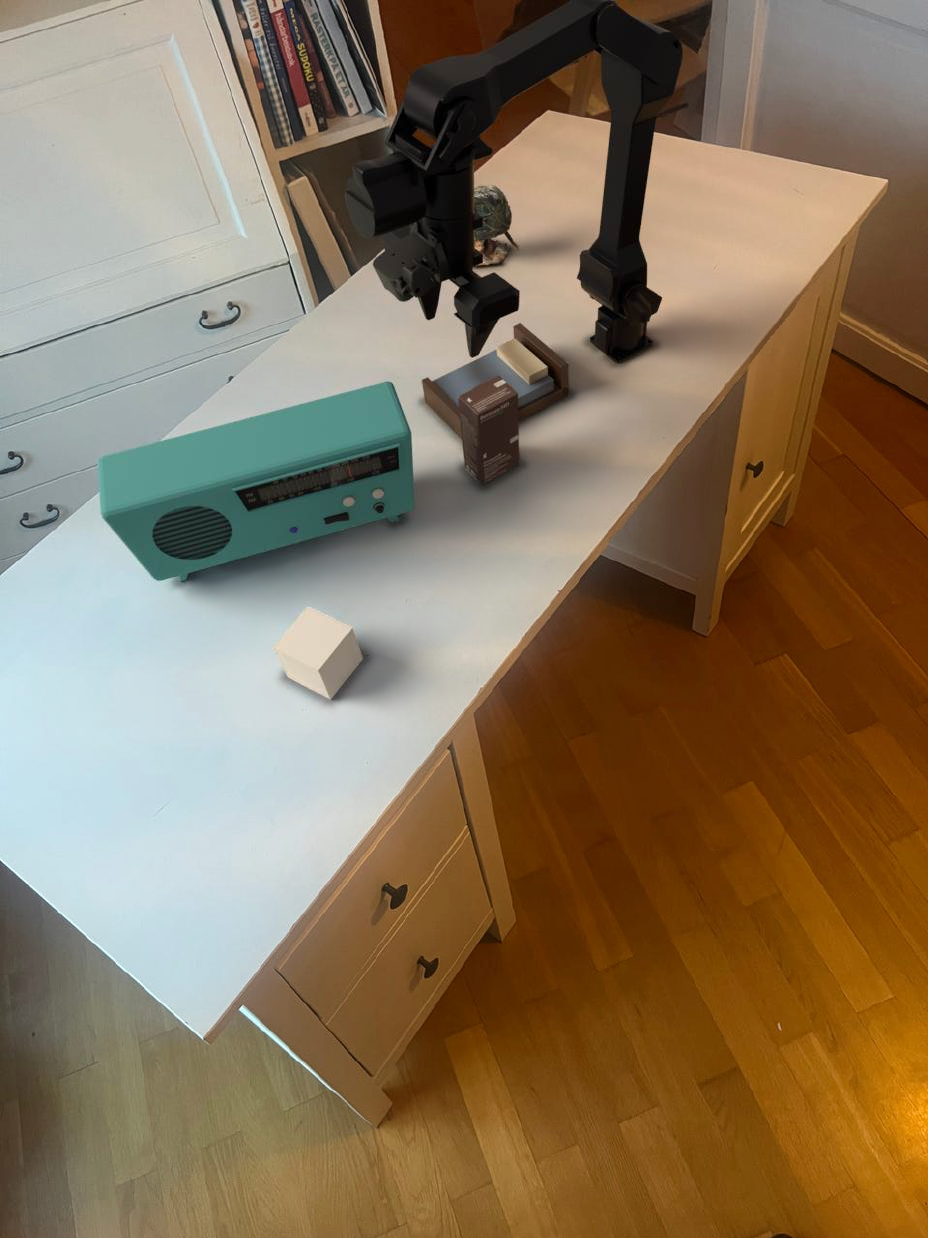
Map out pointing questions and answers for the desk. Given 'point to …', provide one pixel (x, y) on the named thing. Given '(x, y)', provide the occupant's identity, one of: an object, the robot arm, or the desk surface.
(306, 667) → the cream cube
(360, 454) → the radio
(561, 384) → the bed
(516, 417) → the box
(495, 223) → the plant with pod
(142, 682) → the desk surface
